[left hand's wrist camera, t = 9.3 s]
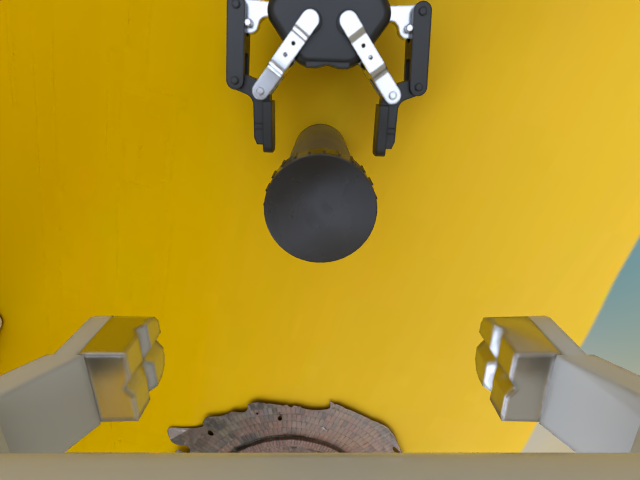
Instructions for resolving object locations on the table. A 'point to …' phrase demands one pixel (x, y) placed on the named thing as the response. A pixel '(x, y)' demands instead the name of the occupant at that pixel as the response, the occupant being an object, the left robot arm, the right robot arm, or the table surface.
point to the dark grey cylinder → (320, 139)
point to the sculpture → (287, 432)
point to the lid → (320, 205)
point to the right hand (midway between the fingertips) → (324, 152)
